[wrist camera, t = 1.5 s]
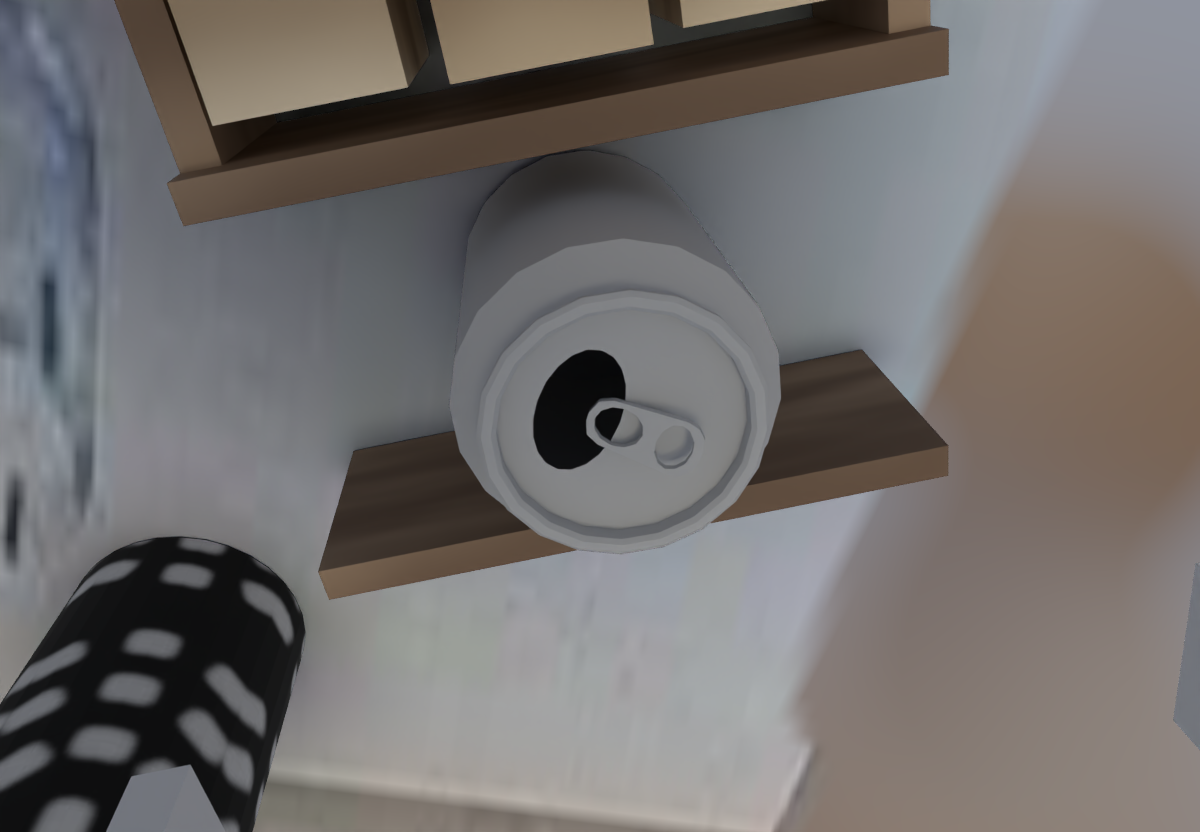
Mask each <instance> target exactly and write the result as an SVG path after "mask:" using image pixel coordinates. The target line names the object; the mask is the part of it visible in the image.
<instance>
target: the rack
mask: <svg viewBox="0 0 1200 832" xmlns="http://www.w3.org/2000/svg"><path fill="white" fill-rule="evenodd" d="M114 1H115V4H116V6H117V9H118V12H119V14H120V17H121V19H122V22H123V25H124V27H125V30H126V33H127V35H128V38H129V40H130V43H131V46H132V48H133V51H134V54H135V56H136V59H137V61H138V64H139V67H140V69H141V72H142V75H143V77H144V80H145V82H146V85H147V88H148V90H149V93H150V95H151V98H152V101H153V103H154V106H155V109H156V111H157V114H158V116H159V119H160V122H161V124H162V127H163V130H164V132H165V135H166V137H167V140H168V143H169V145H170V148H171V151H172V153H173V156H174V158H175V161H176V164H177V166H178V169H179V171H180V174H179V175H178V176H176V177H175V178H173V179H172V180H171V181H169V182H168V183H167V185H168V188H169V190H170V193H171V196H172V198H173V201H174V203H175V206H176V208H177V211H178V214H179V216H180V219H181V221H182V224H183V226H187V225H192V224H197V223H202V222H207V221H212V220H217V219H222V218H227V217H232V216H237V215H242V214H247V213H253V212H258V211H263V210H268V209H273V208H278V207H283V206H288V205H293V204H298V203H303V202H308V201H313V200H318V199H323V198H328V197H333V196H339V195H344V194H349V193H354V192H359V191H364V190H369V189H374V188H379V187H384V186H389V185H394V184H399V183H404V182H409V181H414V180H419V179H424V178H430V177H435V176H440V175H445V174H450V173H455V172H460V171H465V170H470V169H475V168H480V167H485V166H490V165H495V164H500V163H505V162H510V161H515V160H521V159H526V158H531V157H536V156H541V155H546V154H551V153H556V152H561V151H566V150H571V149H576V148H581V147H586V146H591V145H596V144H601V143H607V142H612V141H617V140H622V139H627V138H632V137H637V136H642V135H647V134H652V133H657V132H662V131H667V130H672V129H677V128H682V127H687V126H692V125H698V124H703V123H708V122H713V121H718V120H723V119H728V118H733V117H738V116H743V115H748V114H753V113H758V112H763V111H768V110H773V109H778V108H784V107H789V106H794V105H799V104H804V103H809V102H814V101H819V100H824V99H829V98H834V97H839V96H844V95H849V94H854V93H859V92H864V91H869V90H875V89H880V88H885V87H890V86H895V85H900V84H905V83H910V82H915V81H920V80H925V79H930V78H935V77H940V76H945V75H949V29H946V28H941V27H935V26H930V0H824V1H819V2H814V3H812V10H813V17H811V18H805V19H800V20H795V21H790V22H785V23H780V24H775V25H770V26H765V27H760V28H755V29H750V30H745V31H740V32H734V33H729V34H724V35H719V36H714V37H709V38H704V39H699V40H694V41H689V42H684V43H679V44H674V45H669V46H663V47H658V48H653V49H648V50H643V51H638V52H633V53H628V54H623V55H618V56H613V57H608V58H603V59H598V60H592V61H587V62H582V63H577V64H572V65H567V66H562V67H557V68H552V69H547V70H542V71H537V72H532V73H527V74H521V75H516V76H511V77H506V78H501V79H496V80H491V81H486V82H481V83H476V84H471V85H466V86H461V87H456V88H450V89H445V90H440V91H435V92H430V93H425V94H420V95H415V96H410V97H405V98H400V99H395V100H390V101H384V102H379V103H374V104H369V105H364V106H359V107H354V108H349V109H344V110H339V111H334V112H329V113H324V114H319V115H313V116H308V117H303V118H298V119H293V120H288V121H283V122H278V123H277V121H276V118H275V115H274V114H271V115H266V116H261V117H255V118H250V119H245V120H240V121H235V122H230V123H225V124H220V125H215V126H212V123H211V120H210V117H209V115H208V112H207V109H206V106H205V103H204V101H203V98H202V95H201V92H200V89H199V87H198V84H197V81H196V78H195V75H194V73H193V70H192V67H191V64H190V61H189V59H188V56H187V53H186V50H185V47H184V45H183V42H182V39H181V36H180V33H179V31H178V28H177V25H176V22H175V19H174V17H173V14H172V11H171V8H170V5H169V3H168V0H114ZM779 369H780V388H781V400H780V403H779V407H778V410H777V414H776V417H775V421H774V424H773V428H772V431H771V435H770V438H769V442H768V444H767V445H766V447H765V448H764V452H763V455H762V459H761V462H760V466H759V468H758V470H757V471H756V473H755V474H754V476H753V477H752V478H751V480H750V481H749V483H748V484H747V486H746V487H745V489H744V490H743V492H742V493H741V495H740V496H739V498H738V499H737V501H736V502H735V503H734V504H733V505H731V506H730V507H729V508H728V509H727V510H725V511H724V512H723V513H722V514H721V515H719V516H718V517H717V518H716V519H715V520H713V521H712V522H711V523H714V522H719V521H724V520H729V519H734V518H739V517H744V516H749V515H754V514H759V513H764V512H769V511H774V510H779V509H784V508H789V507H794V506H799V505H804V504H809V503H814V502H819V501H824V500H829V499H834V498H839V497H844V496H849V495H854V494H859V493H864V492H869V491H874V490H879V489H884V488H889V487H894V486H899V485H903V484H909V483H914V482H919V481H923V480H929V479H934V478H939V477H943V476H948V445H947V444H946V443H945V441H944V440H943V439H942V438H941V437H940V436H939V435H938V434H937V433H936V431H935V430H934V429H933V428H932V427H931V426H930V425H929V424H928V423H927V421H926V420H925V419H924V418H923V417H922V416H921V415H920V414H919V412H918V411H917V410H916V409H915V408H914V407H913V406H912V405H911V404H910V402H909V401H908V400H907V399H906V398H905V397H904V396H903V395H902V394H901V392H900V391H899V390H898V389H897V388H896V387H895V386H894V385H893V384H892V382H891V381H890V380H889V379H888V378H887V377H886V376H885V375H884V374H883V372H882V371H881V370H880V369H879V368H878V367H877V366H876V365H875V364H874V362H873V361H872V360H871V359H870V358H869V357H868V356H867V355H866V354H865V352H864V351H863V350H858V351H853V352H848V353H843V354H838V355H833V356H828V357H823V358H818V359H813V360H808V361H803V362H798V363H793V364H788V365H783V366H779ZM575 550H576V549H574V548H571V547H569V546H566V545H563V544H561V543H558V542H556V541H553V540H550V539H548V538H545V537H543V536H540V535H538V534H537V533H536V532H535V531H533V530H532V529H531V528H530V527H528V526H527V525H526V524H524V523H523V522H522V521H521V520H519V519H518V518H517V517H516V516H514V515H513V514H512V513H511V512H509V511H508V510H507V509H506V507H505V506H504V505H503V504H501V503H500V502H499V501H498V500H496V499H495V498H494V497H493V496H491V495H490V494H489V493H488V492H486V491H485V490H484V488H483V487H482V485H481V483H480V482H479V480H478V479H477V477H476V476H475V474H474V473H473V471H472V470H471V468H470V467H469V465H468V464H467V462H466V460H465V459H464V457H463V456H462V454H461V453H460V450H459V446H458V442H457V438H456V434H455V431H452V432H447V433H442V434H437V435H432V436H427V437H422V438H417V439H412V440H407V441H402V442H397V443H392V444H387V445H382V446H377V447H372V448H367V449H362V450H357V451H353V455H352V458H351V462H350V465H349V468H348V472H347V475H346V479H345V482H344V486H343V489H342V492H341V496H340V499H339V503H338V506H337V509H336V513H335V516H334V520H333V523H332V527H331V530H330V533H329V537H328V540H327V544H326V547H325V550H324V554H323V557H322V561H321V564H320V567H319V571H318V572H319V575H320V577H321V580H322V583H323V585H324V588H325V590H326V593H327V595H328V598H329V600H330V599H335V598H340V597H345V596H350V595H355V594H360V593H365V592H370V591H375V590H380V589H385V588H390V587H395V586H400V585H405V584H410V583H415V582H420V581H425V580H430V579H435V578H440V577H445V576H450V575H455V574H460V573H465V572H470V571H475V570H480V569H485V568H490V567H495V566H500V565H505V564H510V563H515V562H520V561H525V560H530V559H535V558H540V557H545V556H550V555H555V554H560V553H565V552H570V551H575Z"/></svg>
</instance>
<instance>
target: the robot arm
mask: <svg viewBox="0 0 1200 832" xmlns="http://www.w3.org/2000/svg"><path fill="white" fill-rule="evenodd" d="M1173 720H1174V722H1175V723H1176V724H1177V725H1178V726H1179V727H1180V728H1181V729H1182V731H1183V732H1184V733H1185V734H1186V735H1187V736H1188V737H1189V738H1190V740H1191V741H1192V742H1193V743H1194V744H1195V745H1196V747H1198V749H1199V750H1200V563H1196V566H1195V572H1194V579H1193V587H1192V593H1191V600H1190V607H1189V615H1188V621H1187V628H1186V635H1185V641H1184V649H1183V655H1182V663H1181V669H1180V677H1179V683H1178V690H1177V697H1176V705H1175V711H1174V718H1173ZM106 832H225V830H224V828H223V826H222V824H221V822H220V820H219V818H218V816H217V814H216V813H215V811H214V809H213V807H212V805H211V803H210V801H209V799H208V797H207V795H206V793H205V792H204V790H203V788H202V786H201V784H200V782H199V780H198V778H197V776H196V774H195V772H194V771H193V769H192V767H191V765H186V766H181V767H176V768H171V769H166V770H161V771H156V772H151V773H146V774H141V775H136V776H131V778H130V781H129V783H128V785H127V787H126V789H125V791H124V794H123V796H122V798H121V800H120V802H119V805H118V807H117V809H116V811H115V813H114V816H113V818H112V820H111V822H110V824H109V827H108V829H107V831H106Z"/></svg>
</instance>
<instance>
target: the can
mask: <svg viewBox="0 0 1200 832" xmlns="http://www.w3.org/2000/svg"><path fill="white" fill-rule="evenodd" d="M780 400H781V388H780V369H779V351H778V349H777V347H776V344H775V342H774V340H773V337H772V335H771V333H770V330H769V328H768V326H767V323H766V321H765V319H764V316H763V314H762V312H761V309H760V307H759V306H758V304H757V303H756V301H755V300H754V299H753V297H752V296H751V295H750V293H749V292H748V290H747V289H746V288H745V286H744V285H743V283H742V282H741V281H740V279H739V278H738V276H737V275H736V274H735V272H734V271H733V269H732V268H731V267H730V265H729V264H728V263H727V261H726V260H725V258H724V257H723V256H722V254H721V253H720V251H719V250H718V249H717V247H716V246H715V244H714V243H713V242H712V240H711V239H710V238H709V236H708V235H707V233H706V232H705V231H704V229H703V228H702V226H701V225H700V224H699V222H698V221H697V219H696V218H695V217H694V215H693V214H692V213H691V211H690V210H689V208H688V207H687V206H686V204H685V203H684V202H683V200H682V199H681V198H680V197H679V196H678V195H677V194H676V193H675V192H674V191H673V190H672V189H671V188H670V187H669V185H668V184H667V183H666V182H665V181H664V180H663V179H662V178H661V177H660V176H659V175H658V174H656V173H654V172H653V171H651V170H649V169H647V168H645V167H643V166H641V165H639V164H638V163H636V162H634V161H632V160H630V159H628V158H626V157H624V156H618V155H612V154H606V153H600V152H594V151H588V150H584V151H578V152H572V153H566V154H559V155H553V156H547V157H545V158H543V159H541V160H539V161H537V162H535V163H533V164H531V165H530V166H528V167H526V168H524V169H522V170H520V171H518V172H516V173H514V174H512V175H511V176H510V177H509V178H508V179H507V180H506V181H505V182H504V183H503V184H502V185H501V186H500V187H499V188H498V189H497V190H496V192H495V193H494V194H493V195H492V196H491V197H490V198H489V199H488V200H487V201H486V202H485V203H484V205H483V207H482V209H481V211H480V214H479V216H478V218H477V220H476V222H475V224H474V226H473V228H472V230H471V232H470V235H469V237H468V245H467V253H466V262H465V270H464V279H463V287H462V296H461V305H460V314H459V322H458V331H457V340H456V349H455V357H454V366H453V375H452V384H451V392H450V401H449V408H450V413H451V417H452V421H453V425H454V429H455V434H456V438H457V442H458V446H459V450H460V453H461V454H462V456H463V457H464V459H465V460H466V462H467V464H468V465H469V467H470V468H471V470H472V471H473V473H474V474H475V476H476V477H477V479H478V480H479V482H480V483H481V485H482V487H483V488H484V490H485V491H486V492H488V493H489V494H490V495H491V496H493V497H494V498H495V499H496V500H498V501H499V502H500V503H501V504H503V505H504V506H505V507H506V509H507V510H508V511H509V512H511V513H512V514H513V515H514V516H516V517H517V518H518V519H519V520H521V521H522V522H523V523H524V524H526V525H527V526H528V527H530V528H531V529H532V530H533V531H535V532H536V533H537V534H538V535H540V536H543V537H545V538H548V539H550V540H553V541H556V542H558V543H561V544H563V545H566V546H569V547H571V548H574V549H576V550H581V551H591V552H602V553H613V554H625V553H631V552H637V551H643V550H649V549H655V548H661V547H665V546H667V545H669V544H671V543H674V542H676V541H678V540H680V539H682V538H685V537H687V536H689V535H691V534H693V533H696V532H698V531H700V530H702V529H704V528H705V527H706V526H707V525H708V524H710V523H711V522H712V521H713V520H715V519H716V518H717V517H718V516H719V515H721V514H722V513H723V512H724V511H725V510H727V509H728V508H729V507H730V506H731V505H733V504H734V503H735V502H736V501H737V499H738V498H739V496H740V495H741V493H742V492H743V490H744V489H745V487H746V486H747V484H748V483H749V481H750V480H751V478H752V477H753V476H754V474H755V473H756V471H757V470H758V468H759V466H760V462H761V459H762V455H763V452H764V448H765V447H766V445H767V444H768V442H769V438H770V435H771V431H772V428H773V424H774V421H775V417H776V414H777V410H778V407H779V403H780Z"/></svg>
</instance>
